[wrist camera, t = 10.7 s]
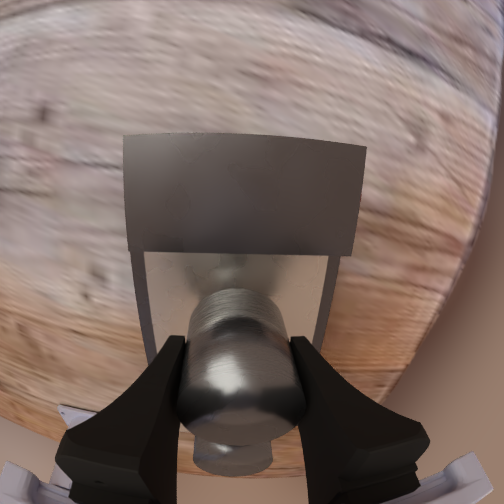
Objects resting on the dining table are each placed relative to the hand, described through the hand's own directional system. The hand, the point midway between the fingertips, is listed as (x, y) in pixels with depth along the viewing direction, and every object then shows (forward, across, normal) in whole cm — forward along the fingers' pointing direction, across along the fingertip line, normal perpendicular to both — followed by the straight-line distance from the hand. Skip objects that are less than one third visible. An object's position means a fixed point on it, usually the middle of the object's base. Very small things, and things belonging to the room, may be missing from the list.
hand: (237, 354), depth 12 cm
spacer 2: (+3, 0, +7) cm, 8 cm away
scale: (+6, 0, +2) cm, 6 cm away
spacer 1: (+2, 0, 0) cm, 2 cm away
